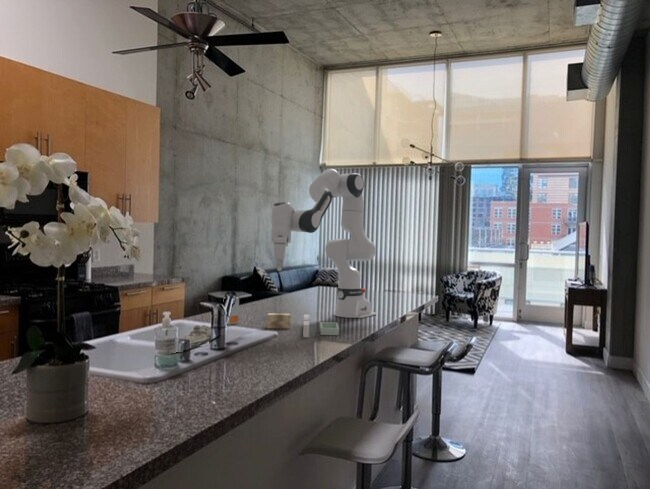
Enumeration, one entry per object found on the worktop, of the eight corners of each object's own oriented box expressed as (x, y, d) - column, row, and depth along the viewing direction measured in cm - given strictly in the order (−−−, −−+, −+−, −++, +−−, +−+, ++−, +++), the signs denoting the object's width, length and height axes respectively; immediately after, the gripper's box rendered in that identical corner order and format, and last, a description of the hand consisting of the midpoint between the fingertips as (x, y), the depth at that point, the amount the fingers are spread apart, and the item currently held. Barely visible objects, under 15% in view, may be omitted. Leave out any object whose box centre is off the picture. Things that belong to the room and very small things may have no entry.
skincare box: (228, 325, 232) (229, 298, 232) (222, 323, 235) (223, 297, 234) (238, 323, 237) (239, 297, 236) (232, 322, 239) (233, 296, 239)
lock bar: (267, 328, 228) (267, 314, 228) (267, 326, 232) (268, 313, 232) (290, 328, 228) (290, 315, 228) (290, 326, 232) (290, 313, 232)
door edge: (303, 324, 237) (304, 313, 237) (309, 325, 237) (309, 313, 237) (303, 337, 211) (303, 324, 211) (309, 337, 211) (309, 324, 211)
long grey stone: (158, 356, 182) (184, 360, 179) (159, 341, 181) (185, 345, 179) (205, 331, 216) (228, 334, 213) (206, 319, 215) (228, 322, 213)
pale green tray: (320, 328, 230) (320, 322, 230) (337, 328, 230) (337, 322, 230) (320, 334, 216) (320, 328, 216) (338, 335, 217) (339, 328, 217)
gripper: (275, 238, 239) (274, 267, 240) (271, 238, 219) (271, 271, 219) (288, 238, 239) (288, 268, 240) (286, 239, 219) (286, 271, 219)
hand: (280, 269), depth 229 cm, fingers open, 8 cm apart
